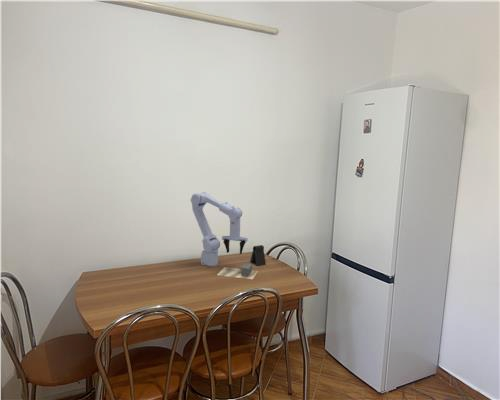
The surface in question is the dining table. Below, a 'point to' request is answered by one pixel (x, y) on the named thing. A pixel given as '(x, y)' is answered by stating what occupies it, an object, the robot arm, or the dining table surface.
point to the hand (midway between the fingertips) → (234, 252)
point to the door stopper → (258, 256)
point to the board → (235, 273)
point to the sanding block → (246, 270)
